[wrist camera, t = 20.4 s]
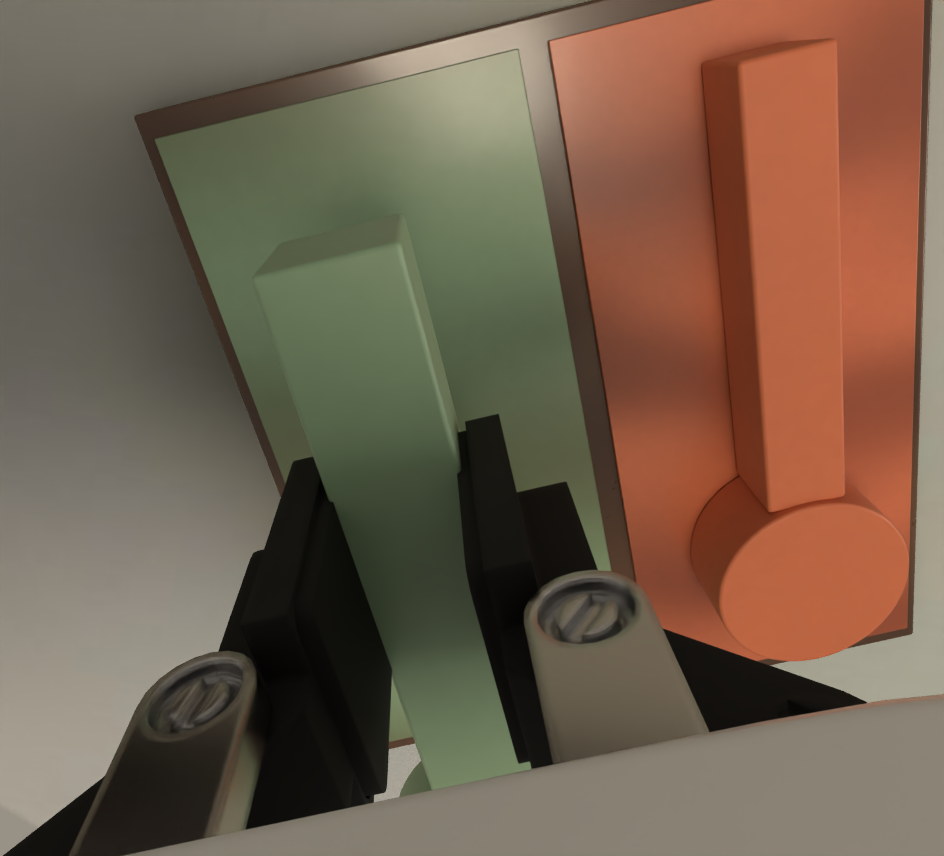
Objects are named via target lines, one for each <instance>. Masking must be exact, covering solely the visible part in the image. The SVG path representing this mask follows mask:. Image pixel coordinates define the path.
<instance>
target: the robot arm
mask: <svg viewBox="0 0 944 856" xmlns="http://www.w3.org/2000/svg"><path fill="white" fill-rule="evenodd" d="M465 426H466V431H462V432H458V440H459V450H460V459H461V469H462V470H461V471H460V473H457V478H458V490H459V501H460V512H461V523H462V535H463V546H464V557H465V566H466V573H467V578H468V583H469V588H470V592H471V596H472V600H473V604H474V607H475V611H476V614H477V618H478V622H479V625H480V629H481V632H482V636H483V640H484V643H485V647H486V650H487V654H488V658H489V661H490V665H491V668H492V672H493V676H494V679H495V683H496V686H497V690H498V693H499V697H500V701H501V704H502V708H503V711H504V715H505V719H506V722H507V726H508V729H509V733H510V737H511V740H512V744H513V747H514V751H515V755H516V758H517V761H518V764H521V763H525V762H530V764H531V768H532V769H530V770H525V771H520V772H515V773H511V774H506V775H501V776H497V777H492V778H487V779H482V780H478V781H473V782H468V783H464V784H459V785H454V786H450V787H445V788H440V789H435V790H431V791H426V792H421V793H417V794H412V795H407V796H402V797H398V798H393V799H388V800H384V801H379V802H374V795H375V794H380V793H384V792H385V791H386V788H387V773H388V752H389V730H390V708H391V686H392V668H391V665H390V662H389V659H388V657H387V654H386V651H385V648H384V645H383V642H382V640H381V637H380V634H379V631H378V628H377V625H376V623H375V620H374V617H373V614H372V611H371V608H370V605H369V603H368V600H367V597H366V594H365V591H364V588H363V586H362V583H361V580H360V577H359V574H358V571H357V568H356V566H355V563H354V560H353V557H352V554H351V551H350V549H349V546H348V543H347V540H346V537H345V534H344V531H343V529H342V526H341V523H340V520H339V517H338V514H337V512H336V509H335V506H334V503H333V502H330V501H329V499H328V497H327V494H326V491H325V488H324V485H323V483H322V480H321V477H320V474H319V471H318V469H317V466H316V463H315V460H314V457H308V458H304V459H300V460H295V461H293V463H292V465H291V468H290V472H289V475H288V478H287V481H286V484H285V487H284V490H283V493H282V496H281V499H280V502H279V505H278V509H277V512H276V515H275V518H274V521H273V524H272V527H271V530H270V533H269V536H268V539H267V542H266V546H265V549H264V550H260V551H257V552H254V553H253V555H252V557H251V559H250V562H249V564H248V567H247V570H246V573H245V576H244V579H243V582H242V585H241V588H240V590H239V593H238V596H237V599H236V602H235V605H234V608H233V611H232V614H231V616H230V619H229V622H228V625H227V628H226V631H225V634H224V637H223V640H222V642H221V645H220V648H219V651H218V652H211V653H208V654H205V655H202V656H199V657H195V658H193V659H191V660H189V661H187V662H185V663H183V664H181V665H179V666H177V667H175V668H174V669H172V670H171V671H170V672H168V673H167V674H166V675H164V676H163V677H161V678H160V679H159V680H158V681H157V682H156V683H155V684H154V685H153V686H152V687H151V688H150V689H149V690H148V691H147V692H146V693H145V695H144V697H143V698H142V700H141V701H140V703H139V704H138V706H137V708H136V710H135V712H134V714H133V716H132V719H131V721H130V723H129V725H128V727H127V730H126V732H125V734H124V736H123V738H122V740H121V743H120V745H119V747H118V749H117V751H116V753H115V756H114V758H113V760H112V762H111V764H110V767H109V769H108V771H107V773H106V775H105V776H104V777H103V778H102V779H101V780H99V781H98V782H97V783H95V784H94V785H93V786H92V787H90V788H89V789H88V790H86V791H85V792H84V793H83V794H81V795H80V796H79V797H78V798H76V799H75V800H74V801H72V802H71V803H70V804H69V805H67V806H66V807H65V808H63V809H62V810H61V811H60V812H58V813H57V814H56V815H54V816H53V817H52V818H51V819H49V820H48V821H47V822H45V823H44V824H43V825H42V826H40V827H39V828H38V829H37V830H35V831H34V832H33V833H31V834H30V835H29V836H28V837H26V838H25V839H24V840H23V841H21V842H20V843H19V844H17V845H16V846H15V847H14V848H12V849H11V850H10V851H8V852H7V853H6V854H4V855H3V856H944V694H941V695H931V696H921V697H911V698H901V699H891V700H883V701H877V702H871V703H867V702H865V701H863V700H861V699H859V698H857V697H855V696H852V695H850V694H848V693H846V692H844V691H841V690H838V689H835V688H833V687H830V686H827V685H824V684H821V683H818V682H815V681H812V680H810V679H807V678H804V677H801V676H798V675H795V674H792V673H790V672H787V671H784V670H781V669H778V668H775V667H772V666H769V665H767V664H764V663H761V662H758V661H755V660H752V659H749V658H746V657H744V656H741V655H738V654H735V653H732V652H729V651H726V650H723V649H721V648H718V647H715V646H712V645H709V644H706V643H703V642H700V641H698V640H695V639H692V638H689V637H686V636H683V635H680V634H677V633H675V632H672V631H669V630H666V629H663V628H662V626H661V624H660V622H659V620H658V617H657V615H656V613H655V611H654V609H653V606H652V604H651V602H650V600H649V598H648V595H647V594H646V593H645V591H644V590H643V589H642V587H641V586H640V585H639V584H638V583H637V582H635V581H633V580H632V579H630V578H629V577H627V576H625V575H621V574H618V573H615V572H611V571H601V570H598V569H597V566H596V563H595V560H594V558H593V555H592V552H591V549H590V546H589V543H588V541H587V538H586V535H585V532H584V529H583V526H582V524H581V521H580V518H579V515H578V512H577V509H576V507H575V504H574V501H573V498H572V495H571V492H570V490H569V487H568V484H567V482H566V481H565V482H560V483H556V484H551V485H547V486H542V487H538V488H534V489H529V490H525V491H520V492H517V491H516V486H515V482H514V478H513V473H512V469H511V465H510V460H509V456H508V452H507V447H506V443H505V439H504V434H503V430H502V426H501V421H500V417H499V414H495V415H490V416H486V417H482V418H477V419H473V420H469V421H465Z"/></svg>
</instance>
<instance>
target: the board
mask: <svg viewBox="0 0 944 856" xmlns="http://www.w3.org/2000/svg"><path fill="white" fill-rule="evenodd" d="M931 29H932V0H593V1H589V2H585V3H581V4H577V5H573V6H569V7H565V8H561V9H557V10H553V11H549V12H545V13H541V14H537V15H533V16H529V17H525V18H521V19H517V20H513V21H509V22H505V23H501V24H497V25H493V26H489V27H485V28H481V29H477V30H473V31H469V32H465V33H461V34H457V35H453V36H449V37H445V38H441V39H437V40H433V41H429V42H425V43H421V44H417V45H413V46H409V47H405V48H401V49H397V50H393V51H389V52H385V53H381V54H377V55H373V56H369V57H365V58H361V59H357V60H353V61H349V62H345V63H341V64H337V65H333V66H329V67H325V68H321V69H317V70H313V71H309V72H305V73H301V74H297V75H293V76H289V77H285V78H281V79H277V80H273V81H269V82H265V83H261V84H257V85H253V86H249V87H245V88H241V89H237V90H233V91H229V92H225V93H221V94H217V95H213V96H209V97H205V98H201V99H197V100H193V101H189V102H185V103H181V104H177V105H173V106H169V107H165V108H161V109H157V110H153V111H149V112H145V113H141V114H137V115H135V121H136V123H137V126H138V128H139V131H140V134H141V136H142V139H143V141H144V144H145V147H146V149H147V152H148V154H149V157H150V160H151V162H152V165H153V167H154V170H155V173H156V175H157V178H158V180H159V183H160V185H161V188H162V191H163V193H164V196H165V198H166V201H167V204H168V206H169V209H170V211H171V214H172V217H173V219H174V222H175V224H176V227H177V229H178V232H179V235H180V237H181V240H182V242H183V245H184V248H185V250H186V253H187V255H188V258H189V261H190V263H191V266H192V268H193V271H194V274H195V276H196V279H197V281H198V284H199V286H200V289H201V292H202V294H203V297H204V299H205V302H206V305H207V307H208V310H209V312H210V315H211V318H212V320H213V323H214V325H215V328H216V330H217V333H218V336H219V338H220V341H221V343H222V346H223V349H224V351H225V354H226V356H227V359H228V362H229V364H230V367H231V369H232V372H233V375H234V377H235V380H236V382H237V385H238V387H239V390H240V393H241V395H242V398H243V400H244V403H245V406H246V408H247V411H248V413H249V416H250V419H251V421H252V424H253V426H254V429H255V431H256V434H257V437H258V439H259V442H260V444H261V447H262V450H263V452H264V455H265V457H266V460H267V463H268V465H269V468H270V470H271V473H272V476H273V478H274V481H275V483H276V486H277V488H278V491H279V494H280V496H282V493H283V490H284V487H285V484H286V481H287V478H288V475H289V472H290V468H291V465H292V463H293V461H295V460H300V459H304V458H308V457H313V454H312V452H311V449H310V446H309V443H308V440H307V438H306V435H305V432H304V429H303V426H302V424H301V421H300V418H299V415H298V412H297V409H296V407H295V404H294V401H293V398H292V395H291V393H290V390H289V387H288V384H287V381H286V379H285V376H284V373H283V370H282V367H281V365H280V362H279V359H278V356H277V353H276V350H275V348H274V345H273V342H272V339H271V336H270V334H269V331H268V328H267V325H266V322H265V320H264V317H263V314H262V311H261V308H260V305H259V303H258V300H257V297H256V294H255V291H254V289H253V286H252V277H253V276H254V275H255V273H256V272H257V271H258V270H259V268H260V267H261V266H262V265H263V263H264V262H265V261H266V260H267V259H268V257H269V256H270V255H271V254H272V252H273V251H274V250H275V249H276V247H277V246H278V245H279V244H280V243H282V242H285V241H289V240H293V239H298V238H302V237H306V236H310V235H314V234H318V233H322V232H326V231H330V230H334V229H339V228H343V227H347V226H351V225H355V224H359V223H363V222H367V221H371V220H376V219H380V218H384V217H388V216H392V215H396V214H400V215H403V216H404V218H405V219H406V223H407V227H408V231H409V234H410V238H411V242H412V246H413V250H414V254H415V258H416V262H417V265H418V269H419V273H420V277H421V281H422V285H423V289H424V292H425V296H426V300H427V304H428V308H429V312H430V316H431V319H432V323H433V327H434V331H435V335H436V339H437V343H438V347H439V350H440V354H441V358H442V362H443V366H444V370H445V374H446V377H447V381H448V385H449V389H450V393H451V397H452V401H453V405H454V408H455V412H456V416H457V420H458V424H459V428H460V432H462V431H466V426H465V421H469V420H473V419H477V418H482V417H486V416H490V415H495V414H499V417H500V421H501V426H502V430H503V434H504V439H505V443H506V447H507V452H508V456H509V460H510V465H511V469H512V473H513V478H514V482H515V486H516V491H517V492H520V491H525V490H529V489H534V488H538V487H542V486H547V485H551V484H556V483H560V482H565V481H566V482H567V484H568V487H569V490H570V492H571V495H572V498H573V501H574V504H575V507H576V509H577V512H578V515H579V518H580V521H581V524H582V526H583V529H584V532H585V535H586V538H587V541H588V543H589V546H590V549H591V552H592V555H593V558H594V560H595V563H596V566H597V569H598V570H601V571H611V572H615V573H618V574H621V575H625V576H627V577H629V578H630V579H632V580H633V581H635V582H637V583H638V584H639V585H640V586H641V587H642V589H643V590H644V591H645V593H646V594H647V595H648V598H649V600H650V602H651V604H652V606H653V609H654V611H655V613H656V615H657V617H658V620H659V622H660V624H661V626H662V628H663V629H666V630H669V631H672V632H675V633H677V634H680V635H683V636H686V637H689V638H692V639H695V640H698V641H700V642H703V643H706V644H709V645H712V646H715V647H718V648H721V649H723V650H726V651H729V652H732V653H735V654H738V655H741V656H744V657H746V658H749V659H752V660H755V661H758V662H761V663H764V664H767V665H774V664H778V663H783V662H787V661H780V660H773V659H769V658H765V657H762V656H759V655H757V654H755V653H752V652H751V651H749V650H747V649H746V648H744V647H742V646H741V645H740V644H739V643H738V642H736V641H735V640H734V639H733V638H732V636H731V635H730V634H729V633H728V631H727V630H726V628H725V626H724V624H723V623H722V621H721V619H720V617H719V615H718V614H717V612H716V610H715V608H714V606H713V605H712V603H711V601H710V599H709V597H708V596H707V594H706V592H705V590H704V588H703V587H702V585H701V583H700V581H699V579H698V578H697V576H696V573H695V571H694V568H693V564H692V559H691V543H692V536H693V532H694V529H695V526H696V524H697V521H698V519H699V517H700V515H701V513H702V512H703V510H704V508H705V507H706V506H707V504H708V503H709V502H710V500H711V499H712V498H713V497H714V496H715V495H716V494H717V493H718V492H719V491H720V490H721V489H722V488H724V487H725V486H726V485H727V484H728V483H730V482H731V481H733V480H734V479H736V478H737V477H739V476H740V475H739V474H738V472H737V464H736V453H735V441H734V430H733V418H732V407H731V395H730V384H729V372H728V361H727V350H726V338H725V327H724V315H723V304H722V292H721V281H720V269H719V258H718V246H717V235H716V223H715V212H714V200H713V189H712V177H711V166H710V154H709V143H708V131H707V120H706V108H705V97H704V85H703V74H702V65H703V63H704V62H706V61H709V60H713V59H717V58H721V57H725V56H729V55H733V54H737V53H741V52H745V51H749V50H753V49H757V48H761V47H765V46H769V45H773V44H777V43H781V42H785V41H797V40H812V39H827V38H832V39H835V40H836V42H837V74H838V131H839V188H840V244H841V301H842V357H843V414H844V471H845V478H846V479H847V480H848V481H849V482H850V483H851V484H852V485H853V486H855V487H856V488H857V489H858V490H859V491H860V492H861V493H862V494H863V495H864V496H865V497H866V498H867V499H868V500H869V501H870V502H871V503H872V504H873V505H874V506H875V507H877V508H878V509H879V510H880V511H881V512H882V513H883V514H884V515H885V516H886V517H887V518H888V519H889V520H890V521H891V522H892V523H893V524H894V525H895V526H896V527H897V529H898V530H899V532H900V533H901V535H902V537H903V539H904V541H905V544H906V547H907V552H908V556H909V571H908V578H907V582H906V585H905V588H904V591H903V593H902V595H901V597H900V599H899V601H898V603H897V604H896V606H895V607H894V609H893V610H892V612H891V613H890V614H889V616H888V617H887V618H886V619H885V620H884V621H883V622H882V623H881V624H880V625H879V626H878V627H877V628H876V629H875V630H874V631H873V632H871V633H870V634H869V635H867V636H866V637H865V638H863V639H862V640H860V641H858V642H857V643H855V644H853V645H852V646H850V647H848V648H851V647H856V646H860V645H865V644H869V643H874V642H878V641H883V640H887V639H892V638H897V637H901V636H906V635H910V634H912V633H913V605H914V573H915V541H916V509H917V477H918V445H919V413H920V381H921V349H922V317H923V285H924V253H925V221H926V189H927V157H928V125H929V93H930V61H931ZM414 743H415V741H414V738H413V736H412V733H411V730H410V727H409V724H408V721H407V719H406V716H405V713H404V710H403V707H402V705H401V702H400V699H399V696H398V693H397V691H396V688H395V685H394V682H393V679H392V686H391V708H390V730H389V749H391V748H396V747H400V746H405V745H410V744H414Z"/></svg>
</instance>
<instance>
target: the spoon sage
mask: <svg viewBox="0 0 944 856" xmlns="http://www.w3.org/2000/svg"><path fill="white" fill-rule="evenodd" d="M252 286H253V289H254V291H255V294H256V297H257V300H258V303H259V305H260V308H261V311H262V314H263V317H264V320H265V322H266V325H267V328H268V331H269V334H270V336H271V339H272V342H273V345H274V348H275V350H276V353H277V356H278V359H279V362H280V365H281V367H282V370H283V373H284V376H285V379H286V381H287V384H288V387H289V390H290V393H291V395H292V398H293V401H294V404H295V407H296V409H297V412H298V415H299V418H300V421H301V424H302V426H303V429H304V432H305V435H306V438H307V440H308V443H309V446H310V449H311V452H312V454H313V457H314V460H315V463H316V466H317V469H318V471H319V474H320V477H321V480H322V483H323V485H324V488H325V491H326V494H327V497H328V499H329V501H330V502H333V503H334V506H335V509H336V512H337V514H338V517H339V520H340V523H341V526H342V529H343V531H344V534H345V537H346V540H347V543H348V546H349V549H350V551H351V554H352V557H353V560H354V563H355V566H356V568H357V571H358V574H359V577H360V580H361V583H362V586H363V588H364V591H365V594H366V597H367V600H368V603H369V605H370V608H371V611H372V614H373V617H374V620H375V623H376V625H377V628H378V631H379V634H380V637H381V640H382V642H383V645H384V648H385V651H386V654H387V657H388V659H389V662H390V665H391V668H392V679H393V682H394V685H395V688H396V691H397V693H398V696H399V699H400V702H401V705H402V707H403V710H404V713H405V716H406V719H407V721H408V724H409V727H410V730H411V733H412V736H413V738H414V741H415V744H416V747H417V750H418V752H419V755H420V758H421V762H420V763H419V764H418V765H417V766H416V767H415V768H414V769H413V771H412V772H411V774H410V775H409V777H408V778H407V780H406V782H405V784H404V786H403V788H402V790H401V793H400V796H399V797H402V796H407V795H412V794H417V793H421V792H426V791H431V790H435V789H440V788H445V787H450V786H454V785H459V784H464V783H468V782H473V781H478V780H482V779H487V778H492V777H497V776H501V775H506V774H511V773H515V772H520V771H525V770H530V769H532V768H531V764H530V762H525V763H521V764H518V761H517V758H516V755H515V751H514V747H513V744H512V740H511V737H510V733H509V729H508V726H507V722H506V719H505V715H504V711H503V708H502V704H501V701H500V697H499V693H498V690H497V686H496V683H495V679H494V676H493V672H492V668H491V665H490V661H489V658H488V654H487V650H486V647H485V643H484V640H483V636H482V632H481V629H480V625H479V622H478V618H477V614H476V611H475V607H474V604H473V600H472V596H471V592H470V588H469V583H468V578H467V573H466V566H465V557H464V546H463V535H462V523H461V512H460V501H459V490H458V478H457V473H460V471H461V470H462V469H461V459H460V450H459V440H458V432H460V428H459V424H458V420H457V416H456V412H455V408H454V405H453V401H452V397H451V393H450V389H449V385H448V381H447V377H446V374H445V370H444V366H443V362H442V358H441V354H440V350H439V347H438V343H437V339H436V335H435V331H434V327H433V323H432V319H431V316H430V312H429V308H428V304H427V300H426V296H425V292H424V289H423V285H422V281H421V277H420V273H419V269H418V265H417V262H416V258H415V254H414V250H413V246H412V242H411V238H410V234H409V231H408V227H407V223H406V219H405V218H404V216H403V215H400V214H396V215H392V216H388V217H384V218H380V219H376V220H371V221H367V222H363V223H359V224H355V225H351V226H347V227H343V228H339V229H334V230H330V231H326V232H322V233H318V234H314V235H310V236H306V237H302V238H298V239H293V240H289V241H285V242H282V243H280V244H279V245H278V246H277V247H276V249H275V250H274V251H273V252H272V254H271V255H270V256H269V257H268V259H267V260H266V261H265V262H264V263H263V265H262V266H261V267H260V268H259V270H258V271H257V272H256V273H255V275H254V276H253V277H252Z"/></svg>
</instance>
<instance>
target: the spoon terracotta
mask: <svg viewBox="0 0 944 856" xmlns="http://www.w3.org/2000/svg"><path fill="white" fill-rule="evenodd" d="M702 74H703V85H704V97H705V108H706V120H707V131H708V143H709V154H710V166H711V177H712V189H713V200H714V212H715V223H716V235H717V246H718V258H719V269H720V281H721V292H722V304H723V315H724V327H725V338H726V350H727V361H728V372H729V384H730V395H731V407H732V418H733V430H734V441H735V453H736V464H737V472H738V474H739V475H740V476H739V477H737V478H736V479H734V480H733V481H731V482H730V483H728V484H727V485H726V486H725V487H724V488H722V489H721V490H720V491H719V492H718V493H717V494H716V495H715V496H714V497H713V498H712V499H711V500H710V502H709V503H708V504H707V506H706V507H705V508H704V510H703V512H702V513H701V515H700V517H699V519H698V521H697V524H696V526H695V529H694V532H693V536H692V543H691V559H692V564H693V568H694V571H695V573H696V576H697V578H698V579H699V581H700V583H701V585H702V587H703V588H704V590H705V592H706V594H707V596H708V597H709V599H710V601H711V603H712V605H713V606H714V608H715V610H716V612H717V614H718V615H719V617H720V619H721V621H722V623H723V624H724V626H725V628H726V630H727V631H728V633H729V634H730V635H731V636H732V638H733V639H734V640H735V641H736V642H738V643H739V644H740V645H741V646H742V647H744V648H746V649H747V650H749V651H751V652H752V653H755V654H757V655H759V656H762V657H765V658H769V659H773V660H780V661H805V660H811V659H817V658H821V657H825V656H828V655H831V654H834V653H837V652H839V651H842V650H844V649H846V648H848V647H850V646H852V645H853V644H855V643H857V642H858V641H860V640H862V639H863V638H865V637H866V636H867V635H869V634H870V633H871V632H873V631H874V630H875V629H876V628H877V627H878V626H879V625H880V624H881V623H882V622H883V621H884V620H885V619H886V618H887V617H888V616H889V614H890V613H891V612H892V610H893V609H894V607H895V606H896V604H897V603H898V601H899V599H900V597H901V595H902V593H903V591H904V588H905V585H906V582H907V578H908V571H909V556H908V552H907V547H906V544H905V541H904V539H903V537H902V535H901V533H900V532H899V530H898V529H897V527H896V526H895V525H894V524H893V523H892V522H891V521H890V520H889V519H888V518H887V517H886V516H885V515H884V514H883V513H882V512H881V511H880V510H879V509H878V508H877V507H875V506H874V505H873V504H872V503H871V502H870V501H869V500H868V499H867V498H866V497H865V496H864V495H863V494H862V493H861V492H860V491H859V490H858V489H857V488H856V487H855V486H853V485H852V484H851V483H850V482H849V481H848V480H847V479H846V478H845V471H844V414H843V357H842V301H841V244H840V188H839V131H838V74H837V42H836V40H835V39H832V38H827V39H812V40H797V41H785V42H781V43H777V44H773V45H769V46H765V47H761V48H757V49H753V50H749V51H745V52H741V53H737V54H733V55H729V56H725V57H721V58H717V59H713V60H709V61H706V62H704V63H703V65H702Z"/></svg>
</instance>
